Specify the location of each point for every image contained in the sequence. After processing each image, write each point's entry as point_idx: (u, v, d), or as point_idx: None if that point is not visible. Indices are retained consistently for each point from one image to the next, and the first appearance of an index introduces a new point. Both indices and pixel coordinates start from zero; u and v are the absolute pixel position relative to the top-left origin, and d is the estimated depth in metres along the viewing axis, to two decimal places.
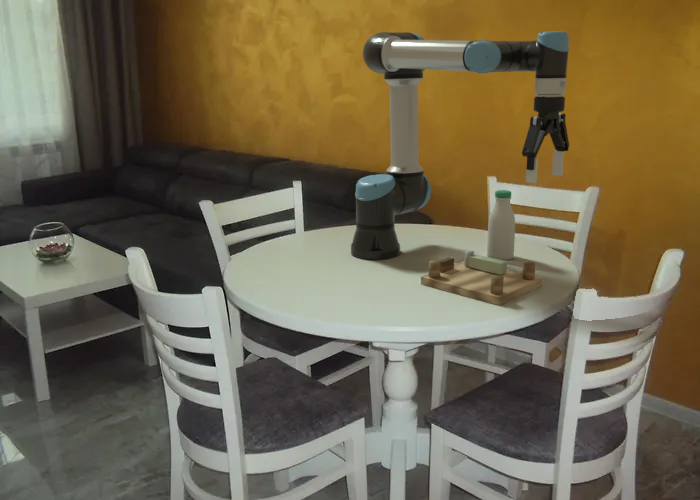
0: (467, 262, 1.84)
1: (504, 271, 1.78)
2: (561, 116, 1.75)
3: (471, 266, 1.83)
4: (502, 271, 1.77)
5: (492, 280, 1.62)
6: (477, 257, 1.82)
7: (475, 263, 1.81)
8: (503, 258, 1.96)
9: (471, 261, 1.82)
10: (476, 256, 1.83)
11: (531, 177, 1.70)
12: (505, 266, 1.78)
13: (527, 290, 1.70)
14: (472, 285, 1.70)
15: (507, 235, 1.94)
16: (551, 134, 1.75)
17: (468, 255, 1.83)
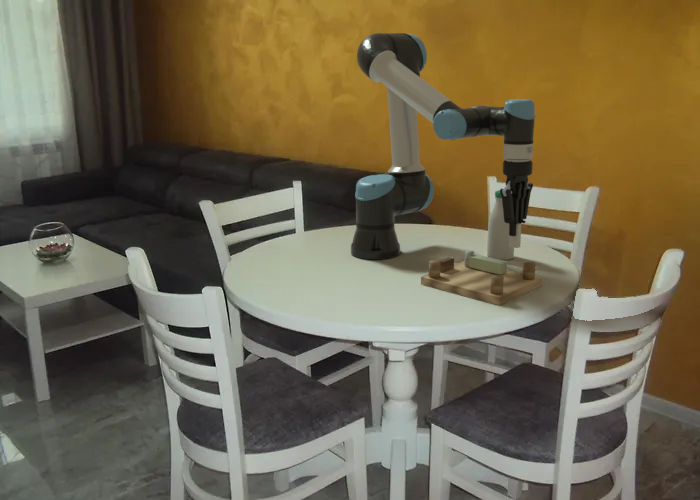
0: (467, 262, 1.84)
1: (504, 271, 1.78)
2: (529, 184, 1.81)
3: (471, 266, 1.83)
4: (502, 271, 1.77)
5: (492, 280, 1.62)
6: (477, 257, 1.82)
7: (475, 263, 1.81)
8: (503, 258, 1.96)
9: (471, 261, 1.82)
10: (476, 256, 1.83)
11: (513, 242, 1.81)
12: (505, 266, 1.78)
13: (527, 290, 1.70)
14: (472, 285, 1.70)
15: (507, 235, 1.94)
16: None
17: (468, 255, 1.83)
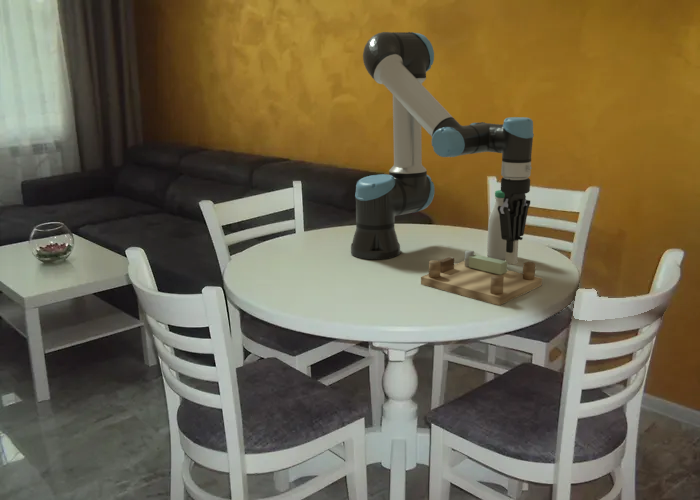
0: (467, 262, 1.84)
1: (504, 271, 1.78)
2: (526, 201, 1.82)
3: (471, 266, 1.83)
4: (502, 271, 1.77)
5: (492, 280, 1.62)
6: (477, 257, 1.82)
7: (475, 263, 1.81)
8: (503, 258, 1.96)
9: (471, 261, 1.82)
10: (476, 256, 1.83)
11: (510, 259, 1.82)
12: (505, 266, 1.78)
13: (527, 290, 1.70)
14: (472, 285, 1.70)
15: None
16: None
17: (468, 255, 1.83)
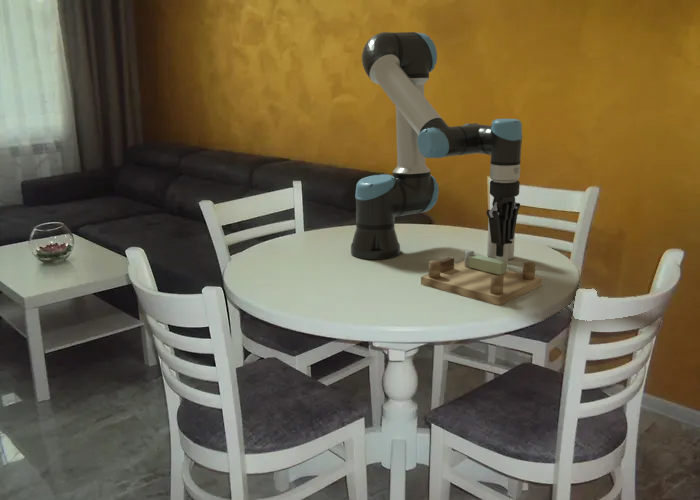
0: (467, 262, 1.84)
1: (504, 271, 1.78)
2: (516, 204, 1.78)
3: (471, 266, 1.83)
4: (502, 271, 1.77)
5: (492, 280, 1.62)
6: (477, 257, 1.82)
7: (475, 263, 1.81)
8: None
9: (471, 261, 1.82)
10: (476, 256, 1.83)
11: None
12: (505, 266, 1.77)
13: (527, 290, 1.70)
14: (472, 285, 1.70)
15: None
16: None
17: (468, 255, 1.83)
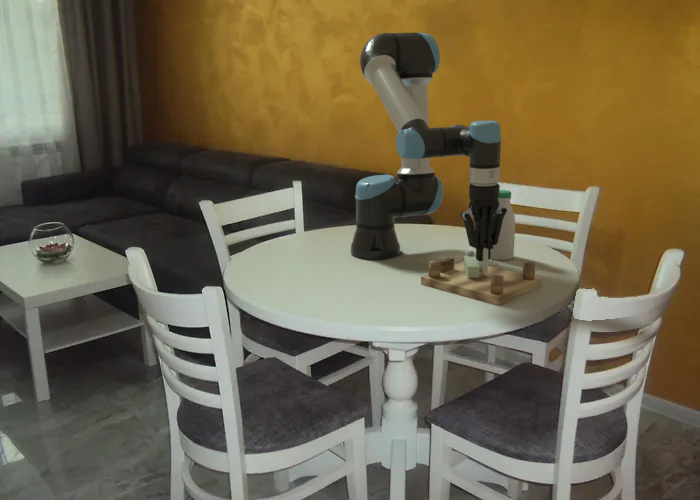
0: None
1: (474, 276, 1.74)
2: (502, 209, 1.73)
3: (464, 265, 1.83)
4: (471, 275, 1.74)
5: (492, 280, 1.62)
6: (468, 258, 1.81)
7: (464, 263, 1.82)
8: (503, 258, 1.96)
9: (464, 260, 1.83)
10: (470, 257, 1.82)
11: (481, 267, 1.75)
12: (476, 271, 1.74)
13: (527, 290, 1.70)
14: (472, 285, 1.70)
15: (507, 235, 1.94)
16: (484, 223, 1.74)
17: (465, 254, 1.84)
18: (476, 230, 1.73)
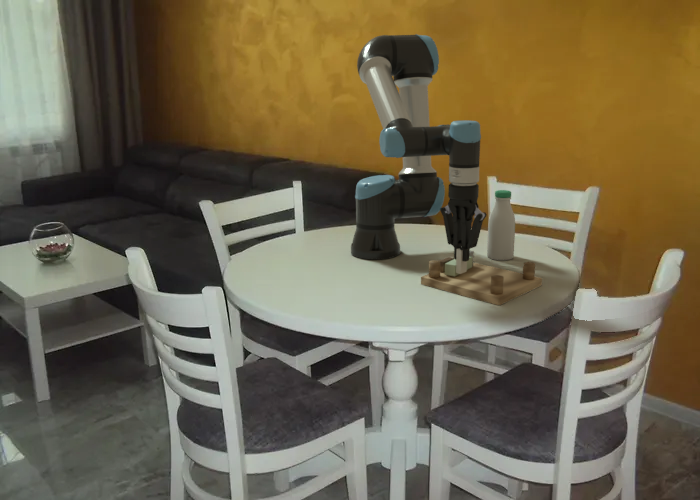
0: None
1: (451, 274, 1.76)
2: None
3: None
4: (447, 272, 1.77)
5: (492, 280, 1.62)
6: None
7: None
8: (503, 258, 1.96)
9: None
10: None
11: None
12: (452, 269, 1.76)
13: (527, 290, 1.70)
14: (472, 285, 1.70)
15: (507, 235, 1.94)
16: None
17: None
18: None
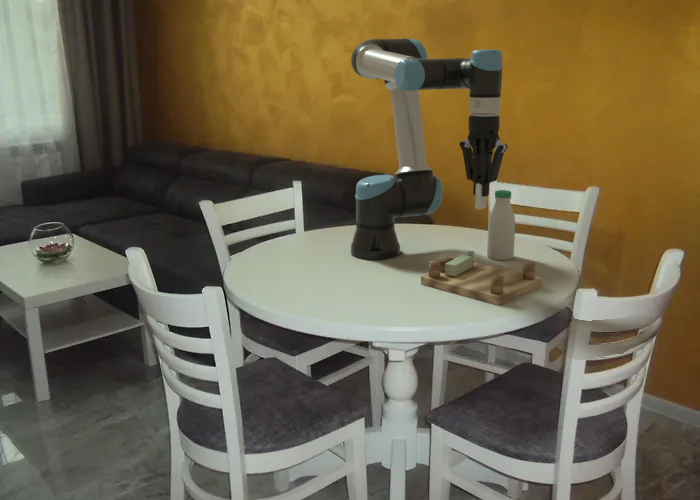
0: None
1: (451, 274, 1.76)
2: None
3: None
4: (447, 272, 1.77)
5: (492, 280, 1.62)
6: (461, 257, 1.82)
7: None
8: (503, 258, 1.96)
9: None
10: (465, 256, 1.82)
11: None
12: (452, 269, 1.76)
13: (527, 290, 1.70)
14: (472, 285, 1.70)
15: (507, 235, 1.94)
16: None
17: (465, 254, 1.84)
18: None
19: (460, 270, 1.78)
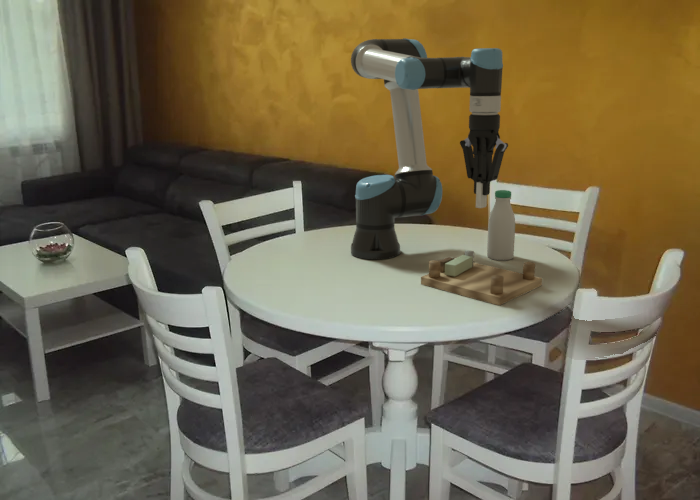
0: None
1: (451, 274, 1.76)
2: None
3: None
4: (447, 272, 1.77)
5: (492, 280, 1.62)
6: (461, 257, 1.82)
7: None
8: (503, 258, 1.96)
9: None
10: (465, 256, 1.82)
11: None
12: (452, 269, 1.76)
13: (527, 290, 1.70)
14: (472, 285, 1.70)
15: (507, 235, 1.94)
16: None
17: (465, 254, 1.84)
18: None
19: (460, 270, 1.78)
